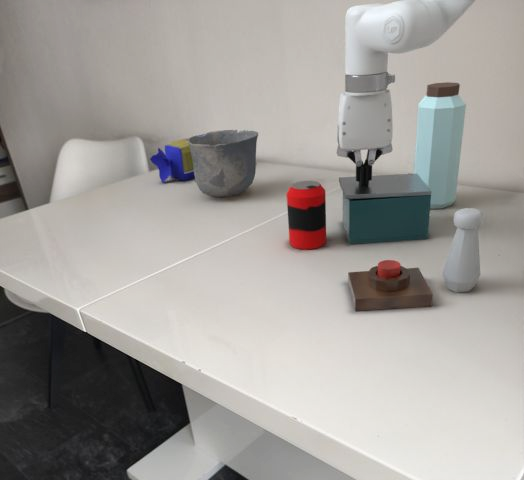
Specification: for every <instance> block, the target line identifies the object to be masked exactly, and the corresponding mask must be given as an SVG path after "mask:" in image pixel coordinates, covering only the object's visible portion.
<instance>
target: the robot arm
mask: <svg viewBox="0 0 524 480" xmlns="http://www.w3.org/2000/svg"><path fill="white" fill-rule="evenodd" d="M475 2H476V0H397V1H392V2H389V3H386V4H385V3H379V2H378V3H367V4H357V5H352V6H351V7H349V8H348V9H347V10H346V14H345V19H344V20H345V21H344V22H345V23H344V29H345V30H344V35H345V36H344V40H345V41H344V92H341V93H340V96H339V102H338V113H337V130H336V131H337V133H336V136H337V139H336V140H337V148H336V155H337V157H342V158H348V159H349V160H350V161H351V162H352V163H354V164H355V177H356V181H359V184H360V187H362V186H364V185H365V186H369V181H370V180H372V176H373V165H374V164H375V162H376V161H377V160H378V159H379V158H380V157H381V156H383V155H387V154H390V153H392V152H393V149H394V148H393V144H392V142H393V104H392V97H391V96H392V95H391V90H390V89H388V86H389V85H390V84H394V83H395V82H396V75H395V74H390V73H389V71H388V65H389V64H388V63H389V62H388V61H389V54H396V55H397V54H406V53H409V52H411V51H415V50H419V49H423V48H426V47H428V46H431V45H433V44H434V43H436V41H438V40H439V39H441V37H443V36H444V34H445V33H446V32H448V31H449V29H450V28H451V27H452V26H453V25H455V24H456V23H457V21H458V20H459V19H461V18H462V16H463V15H464V14H465V13H466V12H467V11H468V10H469V9H470V8H471V7H472V5H473V4H474V3H475ZM365 150H367V152H366V157H365V160H364V161H363V160H362V152H361V151H365Z"/></svg>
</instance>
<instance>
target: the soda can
mask: <svg viewBox="0 0 524 480" xmlns="http://www.w3.org/2000/svg"><path fill="white" fill-rule="evenodd" d="M286 205H287V208H286V209H287V222H288V238H289V239H288V240H289V245H290V246H291V247H293V248H294V249H297V250H306V251H307V250H308V251H309V250H316V249H319V248H321V247H323V246H324V245H325V244H326V243H327V214H326V213H327V209H326V208H327V207H326V205H327V203H326V189H325V187H323V186H322V184H321V183H320V182H319V181H317V180H301V181H297V182H294V183H292V184H291V185H290V187H289V188H288V190H287V191H286Z"/></svg>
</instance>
